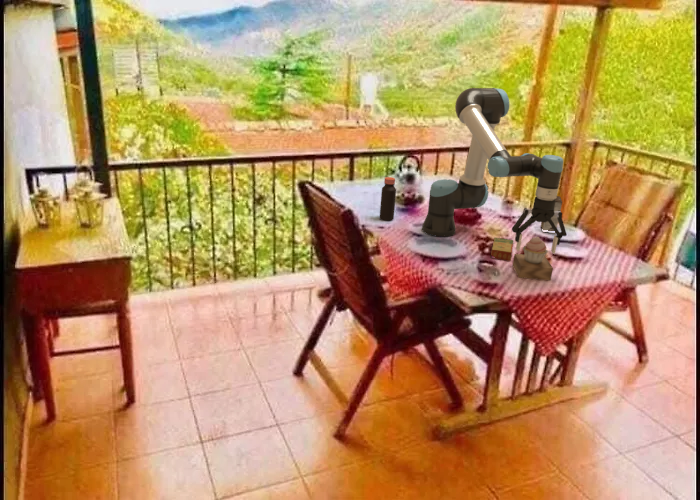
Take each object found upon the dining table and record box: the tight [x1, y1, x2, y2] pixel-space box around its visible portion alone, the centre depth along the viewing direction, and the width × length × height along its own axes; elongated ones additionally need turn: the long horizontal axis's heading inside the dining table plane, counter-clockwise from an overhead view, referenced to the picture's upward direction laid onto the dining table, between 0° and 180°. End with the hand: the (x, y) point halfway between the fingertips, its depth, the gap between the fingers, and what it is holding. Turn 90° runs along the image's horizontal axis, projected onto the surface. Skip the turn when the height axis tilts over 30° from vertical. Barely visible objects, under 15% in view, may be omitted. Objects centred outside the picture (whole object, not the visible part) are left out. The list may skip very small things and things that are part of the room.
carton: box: [490, 237, 514, 262], centre depth 238 cm, size 8×16×4 cm, turn 163°
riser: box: [512, 253, 554, 281], centre depth 220 cm, size 12×12×5 cm
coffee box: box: [540, 195, 563, 231], centre depth 266 cm, size 9×6×16 cm
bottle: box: [379, 176, 397, 222], centre depth 267 cm, size 7×7×20 cm
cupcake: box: [522, 236, 549, 264], centre depth 217 cm, size 9×9×10 cm
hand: (535, 251), depth 217 cm, fingers open, 13 cm apart
